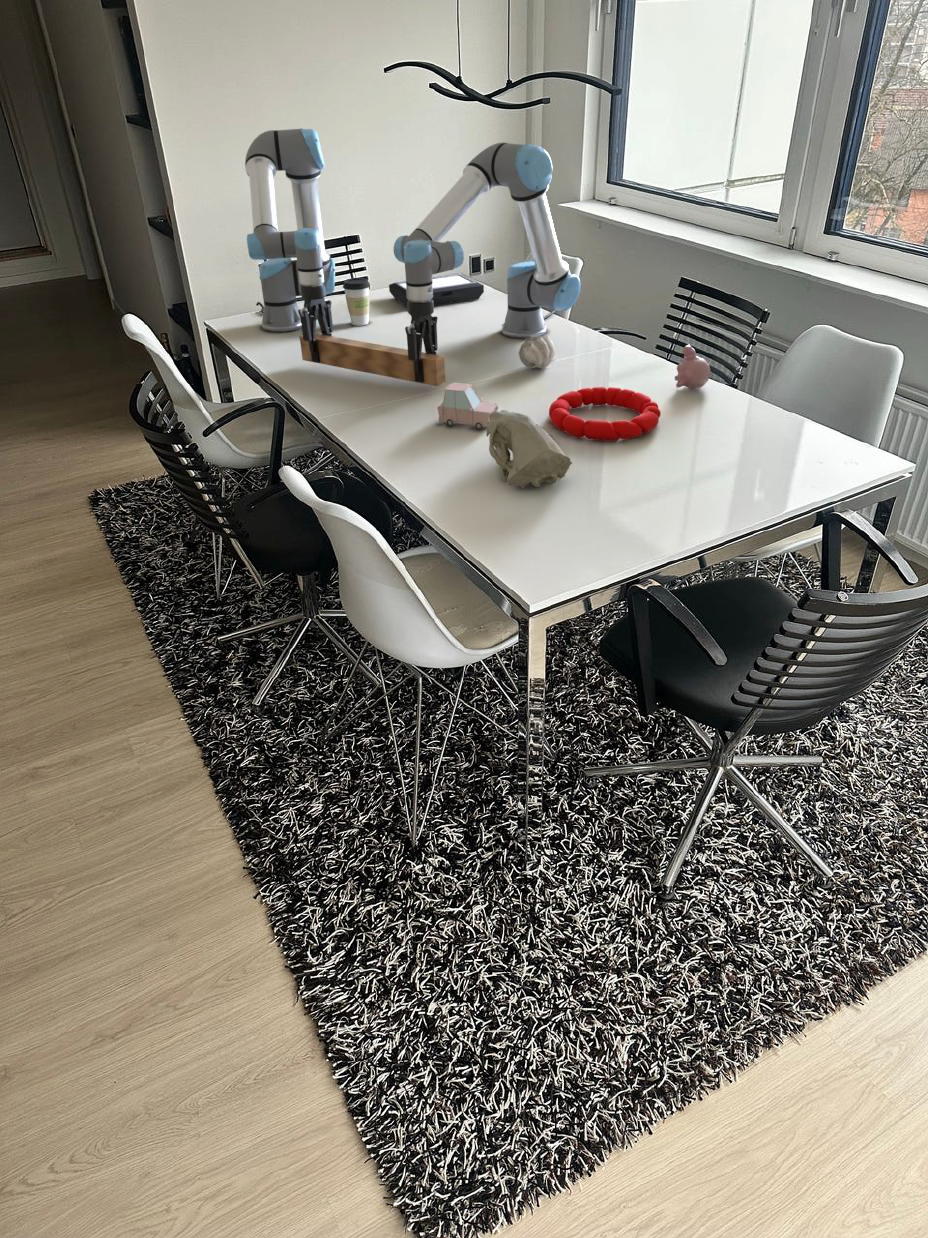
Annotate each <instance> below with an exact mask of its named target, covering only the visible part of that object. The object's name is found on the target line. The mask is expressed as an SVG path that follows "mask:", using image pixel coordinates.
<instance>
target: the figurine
mask: <svg viewBox="0 0 928 1238" xmlns="http://www.w3.org/2000/svg"><path fill="white" fill-rule="evenodd" d="M682 354H683V358H684V359H683V361H682V362H679V363H678V364H677V365H676V372H677V375H675V376H674V381H675V382H676V381H677V382H676V384H675V386H676V388H681V387H686V388H688V389H693V390H694V389H695V390H696V389H700V388H703V387H704V386H705V385H706V384H707V383H708V382H709V379H710V377H711V367H710V364H709V362H708V361H706V359H704V358H702V357H700V356H697V353H696V350H695V349H694V347H692V345H690V344H686V345H685V346H684V347H683V348H682Z"/></svg>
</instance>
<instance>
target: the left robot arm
mask: <svg viewBox="0 0 928 1238" xmlns="http://www.w3.org/2000/svg"><path fill="white" fill-rule="evenodd" d="M244 166H245V173H246V175H247V176H248V177H249V190H250V202H251V203H250V204H251V217H252V229H253V232H251V233H247V235H246V246H247V252H248V255H249V258H250V260H253V261H254V260H255V261H257V260H258V261H263V262H261V263H260V265H259V266H258V270H259V280H260V285H261V286H260V287H261V292H262V299H263V303H262V302H260V301H257V302H256V305H255V306H257V307H259V306H260V308H261V310H260V312H261V314H262V319H261V326H262V330H264V331H265V332H271V333H286V332H293V331H296V330H297V331H298V330H300V329H301V335H303V340H304V341H307V342H309V349H310V352H311V358H312V362H311V363H315V362H318V363H317V364H320V363H319V362H320V358H319V349H318V342H317V341H316V334H317V322H318V324H319V330H320V334H321V335H327V336H333V333H334V323H333V315H332V300H329V299H325V297H326V296H327V295H329V294H332V293H333V292H334V291H335V286H336V285H335V284H336V263H335V259H334V258H331V255H330V253H329V252H328V251H327V250H326V247H325V238H324V230H323V221H322V211H321V203H320V195H319V194H320V193H319V184H318V179H319V178H320V177H321V175H322V170H323V169H325V160H324V156H323V151H322V146H321V142H320V139H319V134H318V132H317V131H316V130H315V129H313V128H291V129H290V128H289V129H277V130H276V129H275V130H274V129H272V130H271V129H269V130H265V131H263V132H261V133H260V134H259V135H257V136H256V137H255V138H254V139H253V141H252V142H251V144H250V145H249V147H248V149H247V152H246V155H245V159H244ZM282 171H284V172H285V177H286V178H287V180H289V181H290V183H291V191H292V199H293V206H294V213H295V221H296V228H297V230H292V231H290V230H289V231H279V227H278V214H277V201H276V191H275V176H276V174H277V172H282ZM294 258H296V260H295V261H292V259H294ZM297 297H301V298H302V299H303V301H304V303H303V307H302V308H300V307H299V306H298V305H299V304H298V303H297ZM311 337H312V338H311Z"/></svg>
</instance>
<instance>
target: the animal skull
mask: <svg viewBox="0 0 928 1238" xmlns="http://www.w3.org/2000/svg"><path fill="white" fill-rule="evenodd" d="M485 436H486V438H487V437H489V438H488V440H489V444H488V445H489V446H488V450H489V454H490V456H491V457H492V458H493V459H494V460H495V462H496V464H497V466H499V468H500V470H501V471H502V472H501V478H502V479H507V480H506V484H507V486H517V487H518V486H519V488H523V489H524V488H526V486H527V485H529V483H531V485H533V486H534V487H536V488H540V485H541V484H542V482H544V483H549V484H550V485H553V484H555V483H556V482H557V480H561V479H563V478H565V476H566V474H567V472H568V471H569V469H570V467H571V466H572V464H573V462H572V461H571V458H570V457H568V456H567V455H565V453H564V451H562V449H561V448H560V446H559V444H557V443H556V439H555V438H554V436H553V435H551V434H550V433H548V432H547V431H546V430H545V429H544V428H542V427H541V426H539V425H538V424H537V423H536V424H535V422H534V421H533V419H532V418H531V417H530V416H529V415H527V414H524V413H519V412H515V411H509V410H507V409H502V410H500V411H499V410H497V411H496V412H492V413H491V414H490V422H488V423H487V427H486V435H485ZM511 453H512V454H511ZM511 455H512V457H513V458H512V460H511ZM507 474H508V475H507Z"/></svg>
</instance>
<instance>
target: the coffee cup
mask: <svg viewBox="0 0 928 1238" xmlns="http://www.w3.org/2000/svg"><path fill="white" fill-rule="evenodd" d="M370 287H371V283H370V282H369V279H367V278H365V277H351V278H347V279H345V280H344V281H343V285H342V288H343V290H344V297H345V301H346V305H347V310H348V314H349V318H350V323H351V325H353V326H357V327H359V326H365V325H368V324H369V317H370V316H369V313H370Z"/></svg>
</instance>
